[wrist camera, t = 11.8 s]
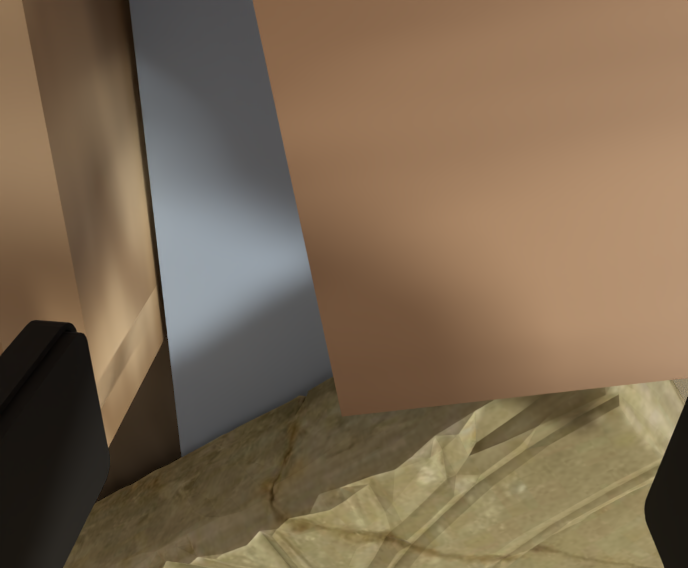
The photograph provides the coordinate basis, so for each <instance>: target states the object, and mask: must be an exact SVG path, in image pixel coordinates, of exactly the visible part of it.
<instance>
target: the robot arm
mask: <svg viewBox="0 0 688 568" xmlns="http://www.w3.org/2000/svg"><path fill="white" fill-rule="evenodd" d="M109 467H110V455H109V450H108V444H107V439H106V434H105V429H104V424H103V418H102V413H101V408H100V403H99V398H98V392H97V387H96V382H95V377H94V372H93V366H92V361H91V356H90V351H89V346H88V341H87V337H86V336H85V334H84V333H80V332H77V330H76V328H75V326H74V325H73V324H72V323H70V322H57V321H44V320H33V321H31V322H29V323H28V324H27V325H26V326H25V327H24V328H23V330H22V331H21V332H20V333H19V334H18V335H17V337H16V338H15V339H14V340H13V341H12V342H11V344H10V345H9V346H8V347H7V348H6V349H5V351H4V352H3V353H2V354H1V355H0V568H63V567H64V565H65V563H66V561H67V559H68V557H69V555H70V553H71V551H72V549H73V547H74V545H75V542H76V540H77V538H78V536H79V534H80V532H81V530H82V528H83V526H84V524H85V522H86V520H87V518H88V516H89V514H90V512H91V510H92V508H93V506H94V504H95V502H96V500H97V498H98V496H99V494H100V492H101V490H102V488H103V486H104V483H105V481H106V479H107V476H108V473H109ZM644 514H645V520H646V523H647V526H648V529H649V531H650V534H651V536H652V539H653V541H654V543H655V546H656V548H657V551H658V553H659V556H660V558H661V561H662V563H663V565H664V568H688V397H687V400H686V402H685V405H684V407H683V410H682V412H681V414H680V417H679V419H678V422H677V424H676V427H675V429H674V431H673V434H672V436H671V439H670V441H669V444H668V446H667V449H666V451H665V453H664V456H663V458H662V461H661V463H660V466H659V468H658V470H657V473H656V475H655V478H654V480H653V483H652V485H651V488H650V490H649V492H648V495H647V497H646V500H645V506H644Z"/></svg>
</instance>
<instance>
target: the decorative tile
mask: <svg viewBox="0 0 688 568" xmlns="http://www.w3.org/2000/svg"><path fill="white" fill-rule="evenodd" d="M684 405H685V401H684V400H683V398H682V396H681V394H680V393H679V391H678V389H677V387H676V386H675V384H674V382H673V380H665V381H656V382H647V383H639V384H630V385H621V386H612V387H603V388H594V389H585V390H576V391H567V392H558V393H549V394H540V395H531V396H522V397H513V398H504V399H495V400H486V401H477V402H468V403H459V404H450V405H441V406H433V407H424V408H415V409H406V410H397V411H388V412H379V413H370V414H361V415H352V416H343V417H342V415H341V410H340V405H339V401H338V396H337V391H336V387H335V382H334V377H331V378H329V379H328V380H326V381H324V382H323V383H321V384H319V385H317V386H316V387H314V388H312V389H311V390H309V391H308V393H307V396H300V395H299V396H298V397H296V398H294V399H293V400H291V401H289V402H287V403H285V404H283V405H281V406H279V407H277V408H275V409H273V410H271V411H269V412H267V413H265V414H263V415H261V416H259V417H257V418H255V419H253V420H251V421H249V422H247V423H245V424H243V425H241V426H239V427H237V428H235V429H234V430H232V431H230V432H228V433H226V434H223V435H221V436H220V437H218V438H216V439H214V440H213V441H211V442H209V443H207V444H205V445H204V446H202V447H200V448H198V449H196V450H194V451H193V452H191V453H189V454H187V455H185V456H183V457H181V458H180V459H178V460H176V461H174V462H172V463H171V464H169V465H167V466H165V467H162V468H160V469H158V470H155V471H153V472H152V473H150V474H149V475H147V476H145V477H144V478H142V479H140V480H139V481H137V482H135V483H133V484H132V485H129V486H127V487H124V488H122V489H120V490H118V491H116V492H115V493H113V494H111V495H109V496H108V497H106V498H104V499H102V500H100V501H99V502H97V503H95V504H94V506H93V508H92V510H91V512H90V514H89V516H88V518H87V520H86V522H85V524H84V526H83V528H82V530H81V532H80V534H79V536H78V538H77V540H76V542H75V545H74V547H73V549H72V551H71V553H70V555H69V557H68V559H67V561H66V563H65V565H64V567H63V568H664V565H663V563H662V561H661V558H660V556H659V553H658V551H657V548H656V546H655V543H654V541H653V539H652V536H651V534H650V531H649V529H648V526H647V523H646V520H645V514H644V506H645V500H646V497H647V495H648V492H649V490H650V488H651V485H652V483H653V480H654V478H655V475H656V473H657V470H658V468H659V466H660V463H661V461H662V458H663V456H664V453H665V451H666V449H667V446H668V444H669V441H670V439H671V436H672V434H673V431H674V429H675V427H676V424H677V422H678V419H679V417H680V414H681V412H682V410H683V407H684Z"/></svg>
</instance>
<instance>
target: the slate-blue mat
mask: <svg viewBox="0 0 688 568" xmlns="http://www.w3.org/2000/svg"><path fill="white" fill-rule="evenodd" d="M129 3H130V12H131V21H132V29H133V38H134V47H135V56H136V64H137V73H138V82H139V91H140V99H141V108H142V117H143V125H144V134H145V143H146V152H147V160H148V169H149V178H150V187H151V195H152V204H153V213H154V221H155V230H156V239H157V248H158V256H159V265H160V274H161V283H162V291H163V300H164V309H165V317H166V326H167V335H168V344H169V352H170V361H171V370H172V378H173V387H174V396H175V405H176V413H177V422H178V431H179V440H180V448H181V457H183V456H185V455H187V454H189V453H191V452H193V451H194V450H196V449H198V448H200V447H202V446H204V445H205V444H207V443H209V442H211V441H213V440H214V439H216V438H218V437H220V436H221V435H223V434H226V433H228V432H230V431H232V430H234V429H235V428H237V427H239V426H241V425H243V424H245V423H247V422H249V421H251V420H253V419H255V418H257V417H259V416H261V415H263V414H265V413H267V412H269V411H271V410H273V409H275V408H277V407H279V406H281V405H283V404H285V403H287V402H289V401H291V400H293V399H294V398H296V397H298V396H299V395H300V396H307V393H308V391H309V390H311V389H312V388H314V387H316V386H317V385H319V384H321V383H323V382H324V381H326V380H328V379H329V378H331V377H333V373H332V368H331V363H330V359H329V354H328V350H327V345H326V340H325V336H324V331H323V326H322V322H321V317H320V312H319V308H318V303H317V298H316V294H315V289H314V284H313V280H312V275H311V270H310V266H309V261H308V256H307V252H306V247H305V243H304V238H303V233H302V229H301V224H300V219H299V215H298V210H297V205H296V201H295V196H294V191H293V187H292V182H291V177H290V173H289V168H288V163H287V159H286V154H285V149H284V145H283V140H282V135H281V131H280V126H279V122H278V117H277V112H276V108H275V103H274V98H273V94H272V89H271V84H270V80H269V75H268V70H267V66H266V61H265V56H264V52H263V47H262V42H261V38H260V33H259V28H258V24H257V19H256V15H255V10H254V5H253V1H252V0H129Z"/></svg>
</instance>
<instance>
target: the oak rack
mask: <svg viewBox="0 0 688 568" xmlns="http://www.w3.org/2000/svg"><path fill="white" fill-rule="evenodd" d="M33 320H44V321H57V322H70V323H72V324H73V325H74V326H75V328H76V330H77V332H80V333H84V334H85V336H86V337H87V341H88V346H89V351H90V356H91V361H92V366H93V372H94V377H95V382H96V387H97V392H98V398H99V403H100V408H101V413H102V418H103V424H104V429H105V434H106V439H107V444H108V447H109V445H110V443H111V441H112V440H113V438H114V436H115V434H116V432H117V430H118V428H119V426H120V424H121V422H122V420H123V418H124V416H125V414H126V412H127V411H128V409H129V407H130V405H131V403H132V401H133V399H134V397H135V395H136V393H137V391H138V389H139V387H140V385H141V383H142V381H143V380H144V378H145V376H146V374H147V372H148V370H149V368H150V366H151V364H152V362H153V360H154V358H155V356H156V354H157V352H158V351H159V349H160V347H161V345H162V343H163V341H164V339H165V337H166V335H167V326H166V317H165V309H164V300H163V291H162V283H161V274H160V265H159V256H158V248H157V239H156V230H155V221H154V213H153V204H152V195H151V187H150V178H149V169H148V160H147V152H146V143H145V134H144V125H143V117H142V108H141V99H140V91H139V82H138V73H137V64H136V56H135V47H134V38H133V29H132V21H131V12H130V3H129V0H0V355H1V354H2V353H3V352H4V351H5V349H6V348H7V347H8V346H9V345H10V344H11V342H12V341H13V340H14V339H15V338H16V337H17V335H18V334H19V333H20V332H21V331H22V330H23V328H24V327H25V326H26V325H27V324H28V323H29V322H31V321H33Z"/></svg>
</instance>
